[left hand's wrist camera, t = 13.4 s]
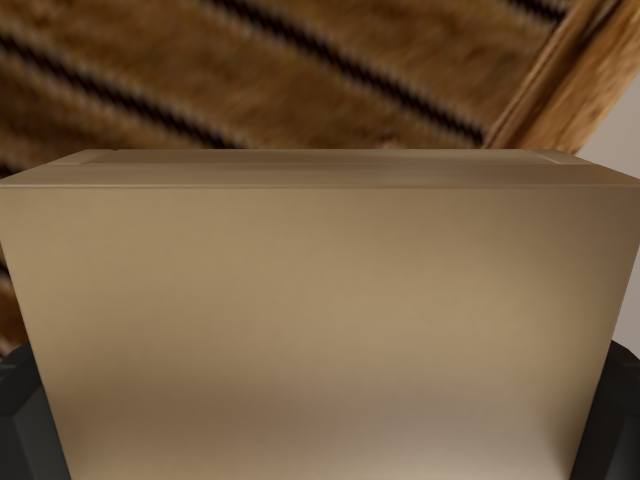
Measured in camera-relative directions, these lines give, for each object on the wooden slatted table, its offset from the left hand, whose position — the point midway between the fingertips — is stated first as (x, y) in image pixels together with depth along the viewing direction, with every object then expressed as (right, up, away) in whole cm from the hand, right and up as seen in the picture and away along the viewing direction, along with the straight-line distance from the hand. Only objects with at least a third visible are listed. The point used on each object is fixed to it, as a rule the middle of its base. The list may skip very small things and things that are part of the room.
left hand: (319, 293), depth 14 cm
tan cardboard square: (0, -1, -3) cm, 3 cm away
